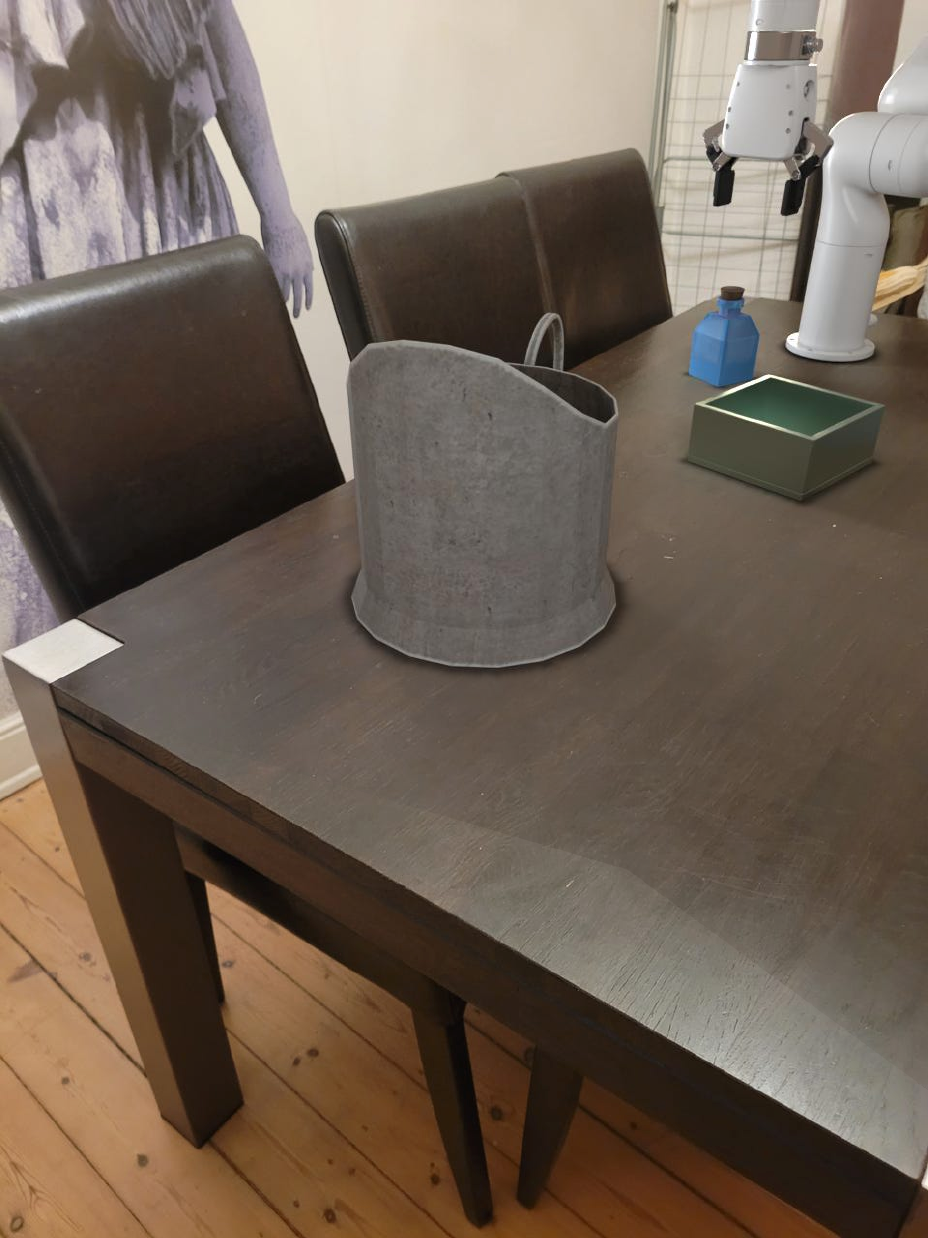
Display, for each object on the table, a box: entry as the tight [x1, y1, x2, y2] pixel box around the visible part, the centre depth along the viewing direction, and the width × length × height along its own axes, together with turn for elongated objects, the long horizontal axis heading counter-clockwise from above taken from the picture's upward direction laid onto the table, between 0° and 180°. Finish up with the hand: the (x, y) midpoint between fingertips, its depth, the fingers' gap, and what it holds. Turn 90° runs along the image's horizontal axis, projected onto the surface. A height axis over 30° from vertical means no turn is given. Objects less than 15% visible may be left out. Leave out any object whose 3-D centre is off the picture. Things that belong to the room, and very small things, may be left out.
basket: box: [686, 374, 886, 502], centre depth 103 cm, size 15×15×7 cm
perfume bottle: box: [688, 285, 761, 388], centre depth 127 cm, size 6×6×12 cm
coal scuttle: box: [345, 312, 619, 669], centre depth 79 cm, size 23×32×25 cm
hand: (754, 209), depth 116 cm, fingers open, 9 cm apart
